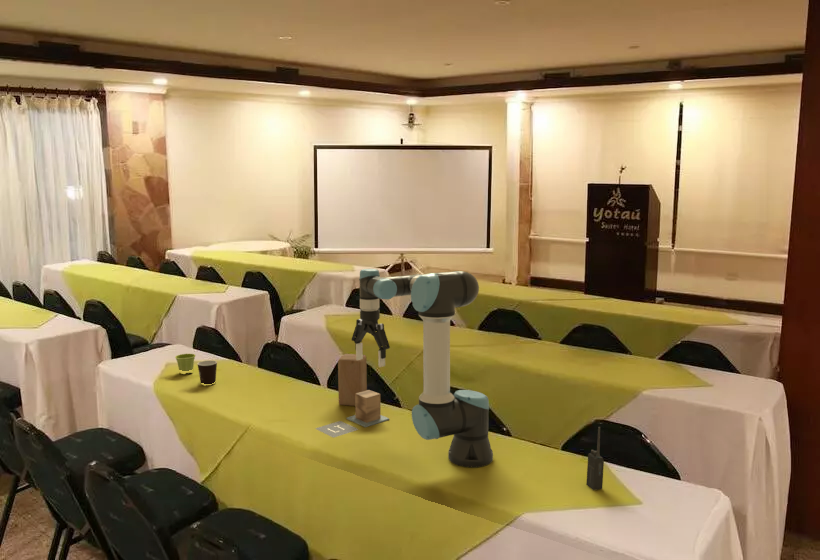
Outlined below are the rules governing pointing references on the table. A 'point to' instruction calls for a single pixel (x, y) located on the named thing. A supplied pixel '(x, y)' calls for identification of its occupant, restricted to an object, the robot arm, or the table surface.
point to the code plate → (336, 429)
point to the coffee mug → (207, 371)
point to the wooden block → (351, 378)
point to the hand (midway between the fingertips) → (370, 362)
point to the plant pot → (185, 361)
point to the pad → (364, 424)
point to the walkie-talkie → (595, 467)
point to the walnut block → (367, 406)
